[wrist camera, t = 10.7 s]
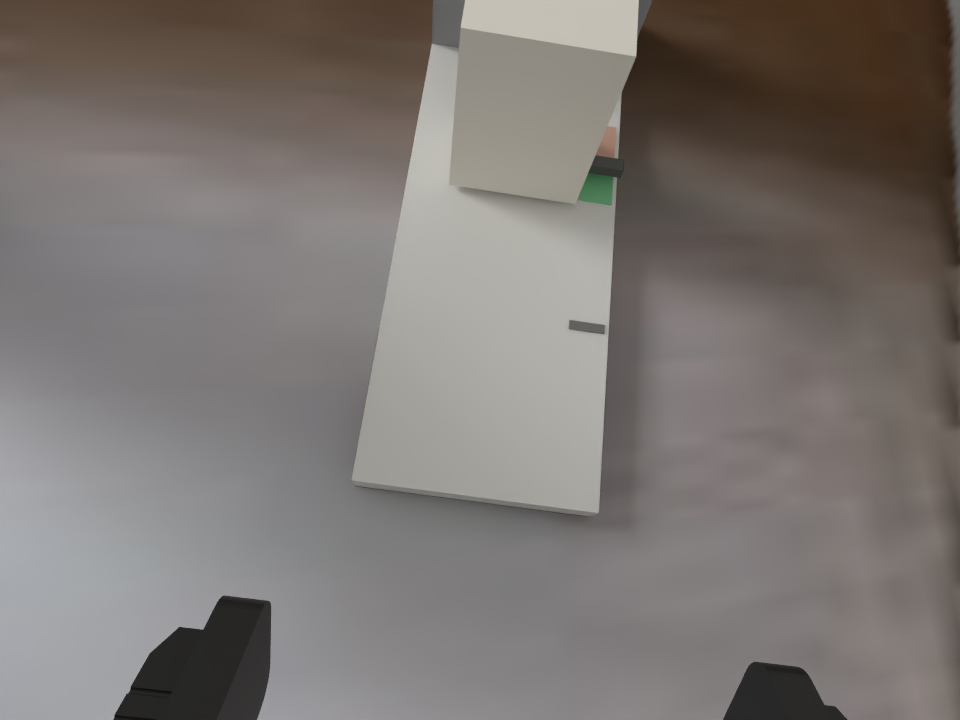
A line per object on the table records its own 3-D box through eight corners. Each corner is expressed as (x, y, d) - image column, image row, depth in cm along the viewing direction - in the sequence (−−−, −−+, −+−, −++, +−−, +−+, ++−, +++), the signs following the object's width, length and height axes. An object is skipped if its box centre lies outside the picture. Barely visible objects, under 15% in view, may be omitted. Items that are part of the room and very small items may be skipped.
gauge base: (354, 485, 27) (310, 421, 16) (445, -11, 36) (456, -264, 25) (589, 516, 27) (701, 474, 16) (618, 18, 36) (702, -218, 26)
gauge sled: (448, 184, 30) (460, 27, 21) (463, 96, 32) (479, -83, 23) (616, 210, 30) (693, 66, 22) (621, 121, 32) (694, -45, 23)
